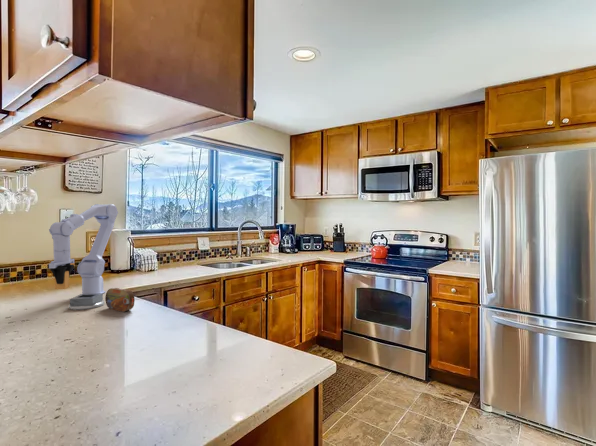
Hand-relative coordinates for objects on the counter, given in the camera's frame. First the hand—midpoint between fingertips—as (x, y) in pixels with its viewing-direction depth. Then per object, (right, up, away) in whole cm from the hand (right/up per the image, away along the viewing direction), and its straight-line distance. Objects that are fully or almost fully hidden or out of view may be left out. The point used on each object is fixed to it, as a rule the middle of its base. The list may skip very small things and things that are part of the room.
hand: (62, 282), depth 141 cm
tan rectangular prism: (0, -2, 0) cm, 2 cm away
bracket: (+12, -9, -3) cm, 15 cm away
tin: (+29, -9, -8) cm, 31 cm away
